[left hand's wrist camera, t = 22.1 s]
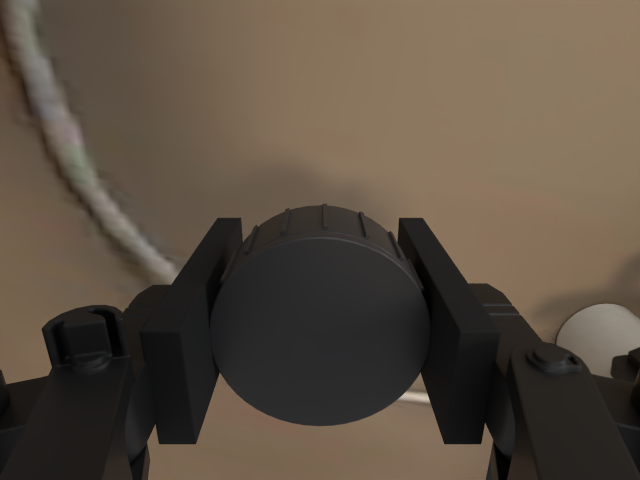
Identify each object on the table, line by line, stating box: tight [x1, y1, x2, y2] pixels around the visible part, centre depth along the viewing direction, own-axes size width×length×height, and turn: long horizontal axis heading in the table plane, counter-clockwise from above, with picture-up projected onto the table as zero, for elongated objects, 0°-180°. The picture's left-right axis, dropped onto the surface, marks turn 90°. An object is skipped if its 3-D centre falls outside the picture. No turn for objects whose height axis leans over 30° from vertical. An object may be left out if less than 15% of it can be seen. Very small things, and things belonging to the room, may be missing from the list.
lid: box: [209, 204, 431, 426], centre depth 11 cm, size 5×5×2 cm
